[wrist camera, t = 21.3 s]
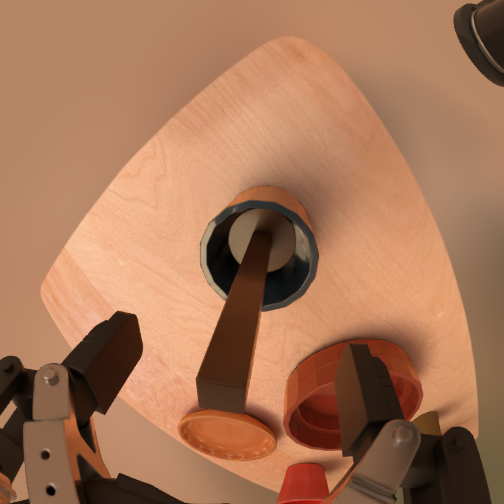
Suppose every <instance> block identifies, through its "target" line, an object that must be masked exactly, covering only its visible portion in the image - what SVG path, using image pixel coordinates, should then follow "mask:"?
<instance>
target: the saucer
mask: <svg viewBox="0 0 504 504" xmlns="http://www.w3.org/2000/svg"><path fill="white" fill-rule="evenodd" d="M178 433H179V435H180V437H181V438H182V439H183V440H184V441H185V442H186V443H187V444H188V445H189V446H191V447H192V448H194V449H196V450H198V451H200V452H202V453H204V454H207V455H209V456H213V457H216V458H220V459H225V460H233V461H250V460H257V459H261V458H264V457H266V456H268V455H270V454H271V453H272V452H273V451H274V450H275V449H276V437H275V435H274V433H273V432H272V431H271V430H270V429H269V428H268V427H267V426H265V425H264V424H263V423H261V422H260V421H258V420H257V419H255V418H253V417H251V416H249V415H246V414H237V413H230V412H224V411H218V410H212V409H209V410H203V411H198V412H195V413H192V414H189V415H187V416H185V417H184V418H183V419H182V420H181V421H180V423H179V425H178Z"/></svg>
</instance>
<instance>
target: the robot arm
mask: <svg viewBox="0 0 504 504" xmlns="http://www.w3.org/2000/svg"><path fill="white" fill-rule="evenodd" d="M472 8H473V12H472V13H471V14H470V16H469V26H470V29H471V32H472V35H473V37H474V39H475V41H476V43H477V45H478V47H479V48H480V50H481V51H482V53H483V54H484V56H485V57H486V58H487V60H488V61H489V62H490V63H491V64H492V65H493V66H494V67H495V68H496V69H497V70H498V71H499V72H501V73H502V74H504V0H483V1H481V2H480V3H478V4H477V5H475V6H473V7H472ZM142 352H143V343H142V338H141V333H140V328H139V323H138V318H137V316H136V315H135V314H131V313H126V312H122V311H117V312H116V313H115V314H114V315H113V316H112V317H111V318H110V319H109V320H105V321H103V322H101V323H100V324H98V325H96V326H95V327H94V328H93V329H92V330H91V331H90V332H89V333H88V335H86V336H85V338H84V339H83V341H81V342H80V343H79V344H78V345H77V346H76V347H75V348H74V350H73V351H72V352H71V353H70V354H69V355H68V356H67V357H66V359H65V360H64V361H63V362H62V363H61V364H58V363H50V364H46V365H44V366H43V367H41V368H40V369H39V370H38V371H37V370H31V369H26V368H24V366H23V365H22V363H21V361H20V359H19V358H18V357H16V356H7V357H4V358H3V359H1V360H0V415H1V414H2V412H3V411H4V410H5V408H6V407H7V405H8V404H9V403H10V401H11V400H12V401H13V402H14V404H15V405H16V407H17V408H16V410H15V411H14V412H13V414H12V415H11V417H10V418H9V420H8V421H7V423H6V424H5V426H4V427H3V428H2V429H1V428H0V504H189V503H184V502H182V501H179V500H178V499H176V498H174V497H172V496H170V495H168V494H167V493H165V492H163V491H161V490H159V489H158V488H156V487H154V486H153V485H151V484H148V483H145V482H142V481H139V480H136V479H134V478H131V477H129V476H126V475H124V474H121V473H119V474H118V477H117V479H115V478H111V476H110V474H109V472H108V470H107V468H106V466H105V464H104V462H103V460H102V457H101V454H100V449H99V445H98V441H97V436H96V431H95V427H94V421H93V418H92V414H93V413H94V411H97V412H99V413H101V414H104V415H105V414H106V413H107V411H108V409H109V407H110V406H111V404H112V403H113V401H114V399H115V398H116V396H117V395H118V393H119V391H120V390H121V388H122V386H123V385H124V383H125V382H126V380H127V379H128V377H129V375H130V374H131V372H132V371H133V369H134V367H135V366H136V364H137V363H138V361H139V360H140V358H141V356H142ZM334 387H335V394H336V401H337V409H338V417H339V425H340V434H341V444H342V454H343V457H349V456H353V462H354V464H353V465H352V466H351V467H350V469H349V470H348V471H347V472H346V474H345V475H344V476H343V478H342V479H341V480H340V481H339V483H338V484H337V485H336V486H335V487H334V489H333V490H332V491H331V492H330V493H329V494H328V496H327V497H326V498H325V499H324V500H323V501H322V502H321V503H320V504H395V503H396V500H397V498H396V497H395V493H396V491H397V489H398V488H399V487H402V488H403V497H404V504H491V500H490V494H489V489H488V485H487V481H486V477H485V473H484V469H483V465H482V462H481V458H480V455H479V452H478V449H477V446H476V443H475V440H474V437H473V435H472V434H471V433H470V431H468V430H467V429H465V428H463V427H452V428H450V429H449V430H448V431H447V432H446V433H445V434H444V435H443V436H439V435H430V434H423V433H420V431H419V429H418V428H417V427H416V426H415V425H414V424H413V423H411V422H409V421H407V420H405V418H404V415H403V412H402V409H401V406H400V403H399V400H398V397H397V394H396V391H395V388H394V387H393V382H392V379H391V378H390V374H389V371H388V368H387V366H386V365H385V363H384V362H383V361H382V360H381V359H380V358H379V357H378V356H372V355H371V352H370V349H369V346H368V344H367V343H351V342H348V343H346V345H345V347H344V350H343V353H342V356H341V359H340V362H339V364H338V367H337V370H336V373H335V380H334ZM23 462H24V463H25V473H26V482H27V489H28V494H29V499H27V500H22V501H18V502H13V503H10V500H12V501H14V500H15V499H16V497H17V496H16V492H15V491H14V490H13V489H12V482H13V481H14V479H15V477H16V475H17V473H18V471H19V469H20V467H21V465H22V463H23ZM223 504H228V503H223Z"/></svg>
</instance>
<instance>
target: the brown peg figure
mask: <svg viewBox="0 0 504 504" xmlns="http://www.w3.org/2000/svg"><path fill="white" fill-rule="evenodd" d="M411 423H413V424H414V425H415V426H416V427H417V428H418V429H419V431H420V433H423V434H430V435H439V436H442V435H441V430H440V425H439V420H438V416H437V413H436V412H428V413H425V414H423V415H421V416H419V417H418V418H416V419H415V420H413V421H412V422H411Z"/></svg>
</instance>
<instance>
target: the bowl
mask: <svg viewBox="0 0 504 504" xmlns="http://www.w3.org/2000/svg"><path fill="white" fill-rule="evenodd" d="M349 342H351V343H367V344H368V346H369V349H370V352H371V355H372V356H378V357H379V358H380V359H381V360H382V361H383V362H384V363H385V365H386V366H387V368H388V371H389V374H390V378H391V379H392V382H393V387H394V388H395V391H396V394H397V397H398V400H399V403H400V406H401V409H402V412H403V415H404V418H405V420H407V421H410V420H411V418H412V417H413V416H414V414H415V413H416V412H417V410H418V409H419V407H420V404H421V401H422V398H423V391H422V387H421V383H420V381H419V379H418V377H417V374H416V372H415V370H414V368H413V366H412V363H411V361H410V359H409V357H408V355H407V354H406V353H405V352H404V351H403V350H402V349H401V348H400V347H399V346H398V345H395V344H392V343H389V342H386V341H383V340H369V339H358V340H353V341H349ZM346 343H348V342H344V343H339V344H335V345H333V346H331V347H329V348H326V349H324V350H322V351H319V352H317V353H315V354H313V355H312V356H311V357H309V358H308V359H307V360H305V361H304V362H303V363H301V364H300V365H298V367H297V368H296V369H295V371H294V372H293V373H292V375H291V376H290V377H289V379H288V381H287V385H286V389H285V398H284V418H283V425H284V428H285V431H286V434H287V436H289V437H290V438H291V439H292V440H293V441H294V442H296V443H297V444H300V445H302V446H305V447H307V448H310V449H316V450H323V451H339V450H342V444H341V434H340V425H339V417H338V409H337V401H336V394H335V387H334V380H335V373H336V370H337V367H338V364H339V362H340V359H341V356H342V353H343V350H344V347H345V345H346Z"/></svg>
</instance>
